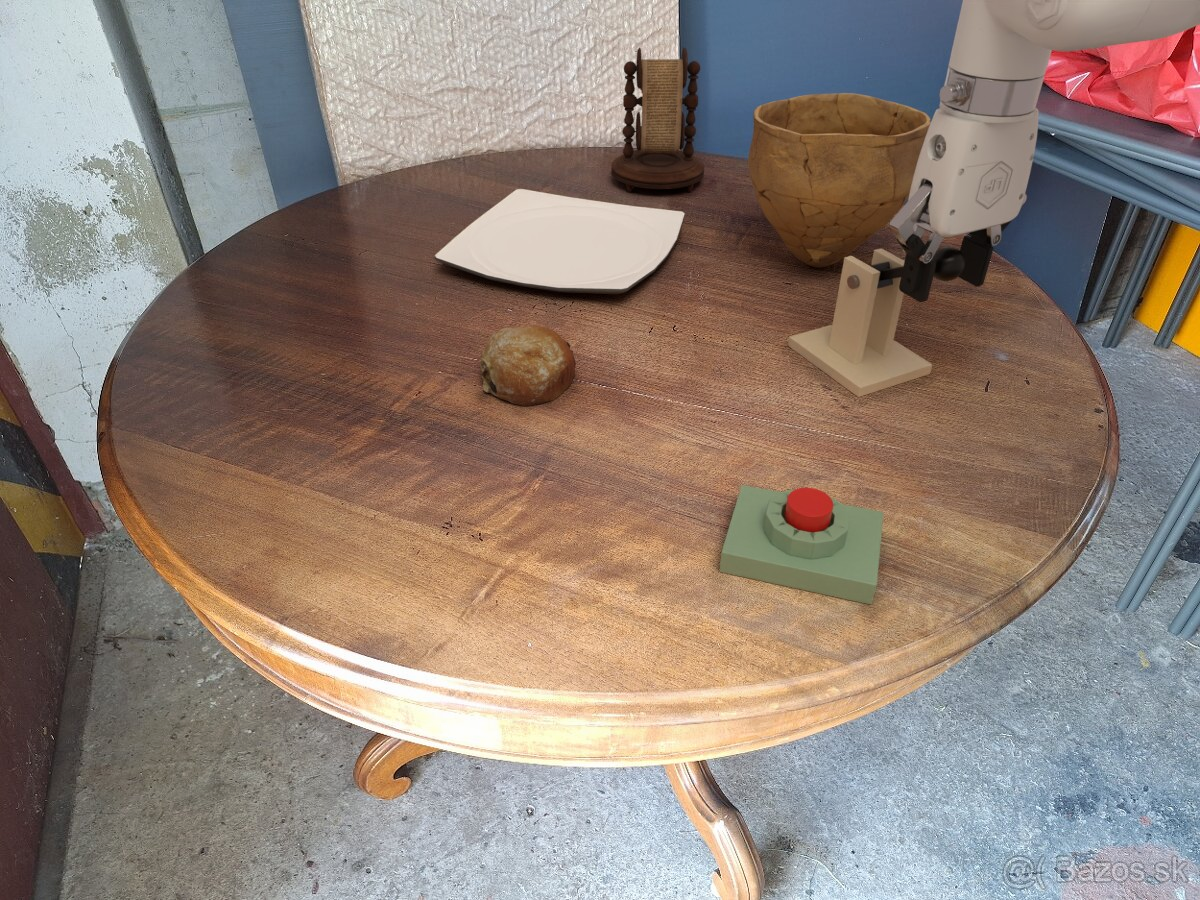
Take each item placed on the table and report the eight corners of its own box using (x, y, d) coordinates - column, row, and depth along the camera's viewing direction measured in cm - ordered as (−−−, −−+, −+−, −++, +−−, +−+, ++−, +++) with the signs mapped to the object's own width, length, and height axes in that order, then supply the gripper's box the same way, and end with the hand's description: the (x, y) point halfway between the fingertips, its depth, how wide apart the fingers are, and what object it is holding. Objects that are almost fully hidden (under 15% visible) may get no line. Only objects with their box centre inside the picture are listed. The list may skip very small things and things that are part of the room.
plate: (632, 316, 107) (632, 296, 105) (420, 278, 115) (418, 259, 113) (695, 227, 128) (697, 210, 127) (514, 201, 136) (513, 184, 135)
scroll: (613, 199, 137) (615, 60, 125) (609, 166, 149) (610, 36, 137) (709, 198, 138) (720, 60, 126) (697, 165, 149) (706, 36, 137)
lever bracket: (930, 374, 96) (956, 273, 89) (858, 397, 93) (879, 294, 86) (856, 326, 105) (875, 230, 98) (787, 345, 101) (801, 248, 94)
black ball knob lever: (975, 275, 83) (969, 240, 83) (950, 282, 82) (944, 247, 81) (879, 290, 95) (873, 260, 94) (855, 296, 94) (850, 266, 93)
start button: (832, 508, 73) (835, 492, 72) (827, 537, 70) (831, 520, 69) (787, 500, 74) (790, 483, 73) (781, 527, 71) (784, 511, 70)
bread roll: (479, 400, 98) (447, 354, 92) (542, 337, 101) (515, 288, 95) (536, 439, 93) (506, 392, 86) (602, 371, 95) (577, 321, 89)
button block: (878, 531, 76) (888, 494, 74) (871, 605, 69) (881, 567, 67) (739, 503, 79) (743, 467, 77) (718, 572, 72) (723, 535, 70)
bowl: (725, 288, 113) (740, 127, 101) (750, 227, 128) (766, 81, 116) (895, 311, 108) (932, 144, 96) (900, 245, 124) (932, 95, 112)
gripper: (946, 118, 69) (899, 325, 79) (1099, 90, 75) (1036, 285, 86) (879, 94, 74) (843, 291, 85) (1027, 70, 80) (976, 256, 91)
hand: (941, 286), depth 85 cm, fingers open, 6 cm apart
